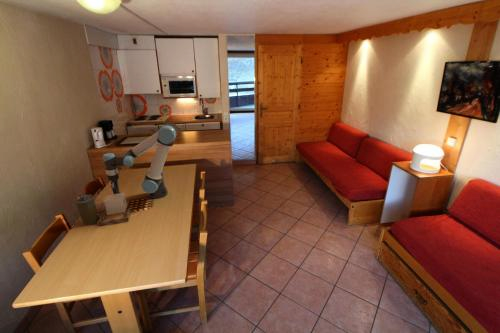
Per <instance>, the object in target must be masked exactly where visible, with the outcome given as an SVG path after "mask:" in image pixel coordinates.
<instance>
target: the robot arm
mask: <svg viewBox="0 0 500 333" xmlns="http://www.w3.org/2000/svg"><path fill="white" fill-rule="evenodd" d="M178 135H179V127H178V126H177V124H175V123H173V122H166V123H164V124H163V125H162V126H161V127H160V128H159V129H158V131H156V132H154V133H153V134H152V135H150V136H149V137H147V138H146V139H144V140H143V141H140V143H138V144H137V145H135V146H134V147H132V148H130V149H128V150H127V151H125V153H124V154H123V155H121V156H119V155H117V156H116V155H115V153H112V152H109V153H105V154H103V155H102V159H103V160H102V161H103V164H104V167H105V170H104V172H106V176H107V177H106V178H107V180H108V181H110V184H111V185H110V187H111V190H112V194H118V193H121V192H120V187H119V179H120V174H119V171H118V167H119V168H120V167H128V168H129V167H133V165H134V162H135V159H136V158H138V157H139V156H140V155H142V154H144V153H145V152H147V151H149V150H150V149H152V148H154V147H155V146H156V148H155V151H154V155H153V158H152V161H151V165H150V167H149V169H147V170H146V172H145V175H144V178H143V181H142V182H141V190H143V192H146V193H147V194H148V197H149V198H151V199H161V198H164V197H166V196H167V195H168V193H169V192H168V191H169V190H168V189H167V187H166V185H165V180H164V171H163V169H164V165H165V163H166V160H167V157H168V154H169V151H170V148H172V147H173V146H174V143H175V140H176V138H177V136H178Z"/></svg>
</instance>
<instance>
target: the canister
mask: <svg viewBox="0 0 500 333" xmlns="http://www.w3.org/2000/svg"><path fill="white" fill-rule="evenodd" d="M95 202H96V201H95V198H94V196H93V194H84V193H83V194H82V195H81V196H79V197H78V198H76V199H75V204H76V207H77V210H78V212H79V217H80V219H81V224H82V225H83V226H90V225H94V224H95V223H97V222H98V220H99V218H100V216H99V212H97V209H96V205H95Z"/></svg>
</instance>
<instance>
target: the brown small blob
mask: <svg viewBox="0 0 500 333" xmlns="http://www.w3.org/2000/svg"><path fill="white" fill-rule="evenodd" d="M95 205H96V209H97V212H98V213H102V212H105V211H106V207H105V203H104V200H98V201H95Z"/></svg>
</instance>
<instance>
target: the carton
mask: <svg viewBox="0 0 500 333" xmlns="http://www.w3.org/2000/svg"><path fill="white" fill-rule="evenodd" d="M126 199H127V198H126V194H125V192H120V193H118V194H114V193H112V194H107V195H106V196H105V198H104V200H103V203H104V207H105V211H106V214H107V216H109V215H115V214H121V213H125V212H126V211H127V209H128V208H127V206H128V203H127V200H126ZM126 213H127V212H126Z"/></svg>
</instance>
